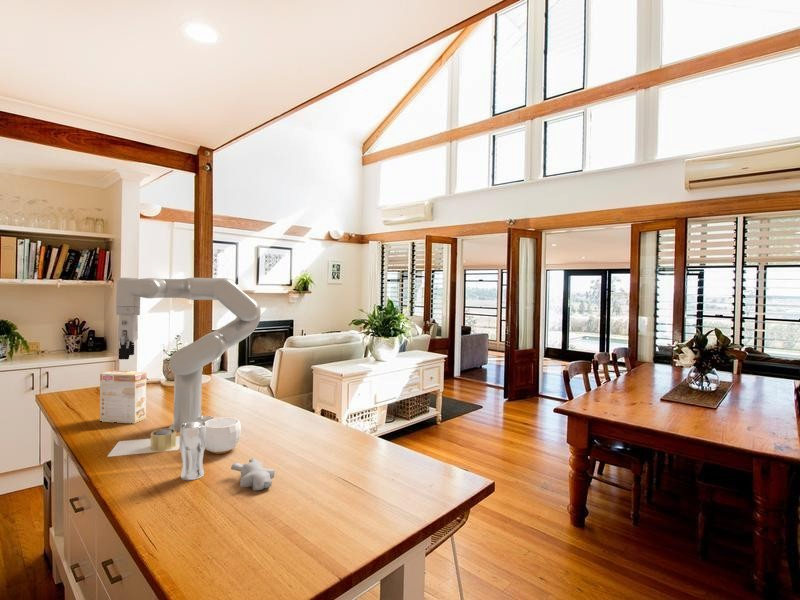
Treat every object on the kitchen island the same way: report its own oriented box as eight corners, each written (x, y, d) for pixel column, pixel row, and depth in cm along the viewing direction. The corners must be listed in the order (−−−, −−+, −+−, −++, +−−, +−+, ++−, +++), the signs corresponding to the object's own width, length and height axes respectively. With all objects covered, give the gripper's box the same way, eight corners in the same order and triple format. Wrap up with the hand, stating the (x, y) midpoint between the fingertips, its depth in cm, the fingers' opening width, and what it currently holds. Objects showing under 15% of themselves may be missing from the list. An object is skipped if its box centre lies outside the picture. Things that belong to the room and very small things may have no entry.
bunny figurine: (248, 482, 112) (227, 458, 123) (246, 500, 113) (226, 474, 124) (281, 472, 119) (259, 450, 130) (280, 490, 119) (258, 466, 130)
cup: (192, 454, 139) (192, 425, 139) (219, 441, 151) (220, 414, 151) (222, 460, 135) (222, 430, 135) (248, 447, 147) (248, 419, 146)
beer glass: (179, 472, 126) (180, 422, 125) (205, 469, 128) (206, 419, 128) (177, 482, 119) (178, 429, 119) (205, 479, 122) (206, 427, 122)
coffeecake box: (146, 418, 174) (147, 371, 174) (134, 424, 167) (134, 374, 167) (112, 416, 176) (113, 369, 176) (98, 422, 169) (99, 373, 168)
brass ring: (176, 442, 147) (177, 427, 147) (173, 449, 140) (174, 434, 140) (153, 444, 144) (153, 429, 144) (148, 452, 138) (149, 436, 138)
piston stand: (183, 438, 153) (183, 421, 153) (178, 452, 140) (178, 434, 140) (118, 444, 146) (118, 426, 146) (106, 459, 133) (107, 440, 133)
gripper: (135, 312, 151) (134, 360, 152) (143, 310, 167) (142, 353, 168) (110, 312, 148) (109, 361, 149) (121, 309, 164) (119, 353, 165)
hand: (126, 357), depth 158 cm, fingers open, 9 cm apart
